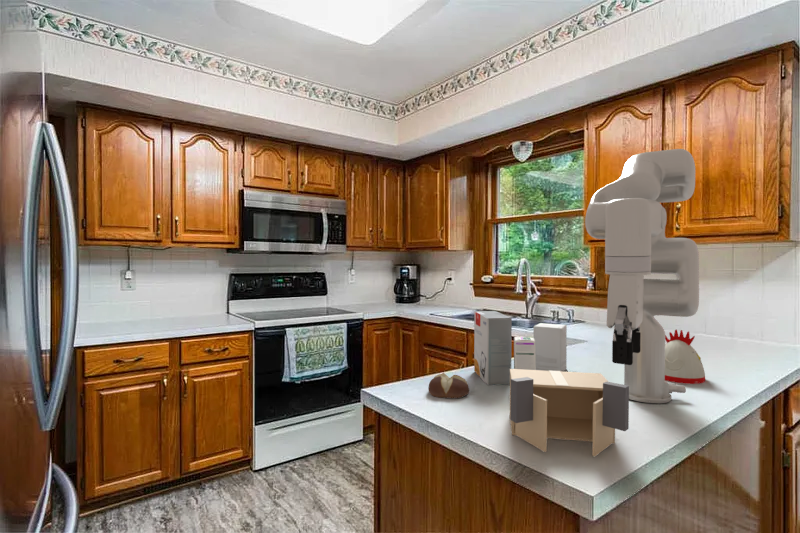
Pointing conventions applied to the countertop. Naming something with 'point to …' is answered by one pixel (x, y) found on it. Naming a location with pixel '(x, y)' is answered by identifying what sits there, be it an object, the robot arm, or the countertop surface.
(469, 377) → the countertop surface
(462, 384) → the bread
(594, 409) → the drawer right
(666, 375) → the kitchen timer
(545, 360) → the supplement box
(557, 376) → the carton
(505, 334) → the hard drive box
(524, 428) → the flap left
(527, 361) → the syrup box
